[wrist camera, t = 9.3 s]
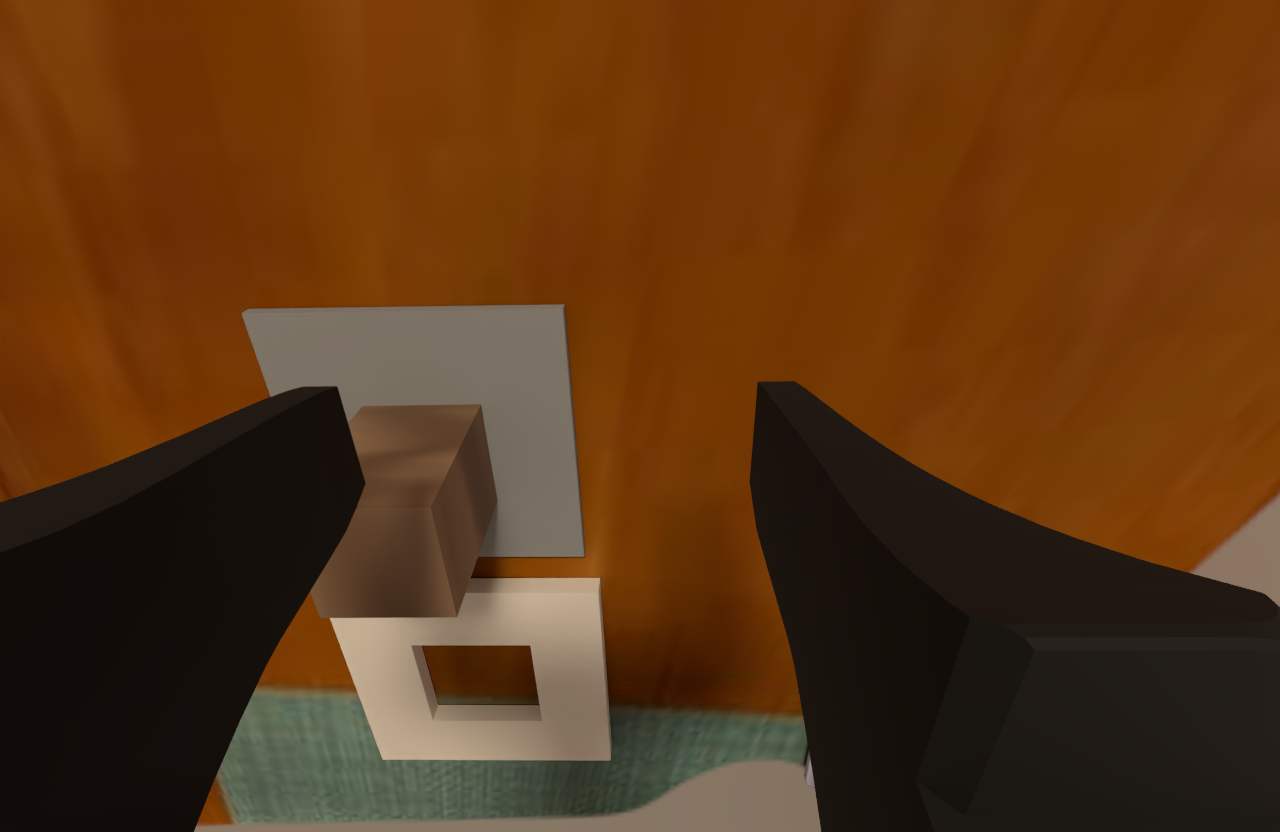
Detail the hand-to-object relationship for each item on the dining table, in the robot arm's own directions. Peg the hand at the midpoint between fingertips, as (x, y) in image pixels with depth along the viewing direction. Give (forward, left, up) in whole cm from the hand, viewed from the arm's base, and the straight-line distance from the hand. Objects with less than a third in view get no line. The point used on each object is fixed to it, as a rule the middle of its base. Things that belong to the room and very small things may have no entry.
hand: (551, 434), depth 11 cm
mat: (+6, +6, -9) cm, 13 cm away
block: (+6, +6, -9) cm, 13 cm away
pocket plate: (+6, +18, -9) cm, 21 cm away
